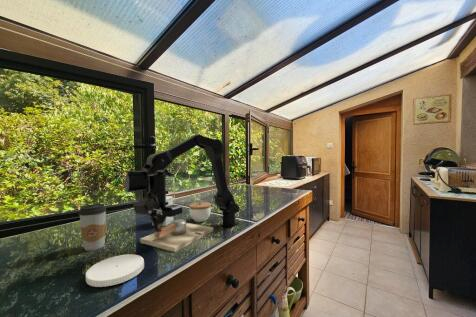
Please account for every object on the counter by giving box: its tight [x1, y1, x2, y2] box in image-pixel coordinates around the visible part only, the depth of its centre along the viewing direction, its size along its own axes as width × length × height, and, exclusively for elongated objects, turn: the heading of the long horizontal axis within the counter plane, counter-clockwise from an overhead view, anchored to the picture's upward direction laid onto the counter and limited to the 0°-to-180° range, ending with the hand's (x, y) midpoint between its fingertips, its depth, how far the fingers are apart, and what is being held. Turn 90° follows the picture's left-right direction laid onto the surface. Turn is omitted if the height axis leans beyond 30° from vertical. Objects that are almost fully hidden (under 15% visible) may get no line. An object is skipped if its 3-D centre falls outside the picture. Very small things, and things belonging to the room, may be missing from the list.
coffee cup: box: [78, 203, 107, 252], centre depth 78 cm, size 8×8×15 cm
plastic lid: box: [85, 253, 145, 288], centre depth 60 cm, size 14×14×2 cm
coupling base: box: [139, 222, 214, 253], centre depth 86 cm, size 22×18×2 cm
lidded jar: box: [188, 200, 212, 223], centre depth 108 cm, size 11×11×9 cm
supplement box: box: [151, 195, 174, 227], centre depth 103 cm, size 7×7×13 cm
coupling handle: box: [154, 218, 187, 238], centre depth 82 cm, size 15×6×4 cm, turn 159°
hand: (157, 231), depth 78 cm, fingers closed
